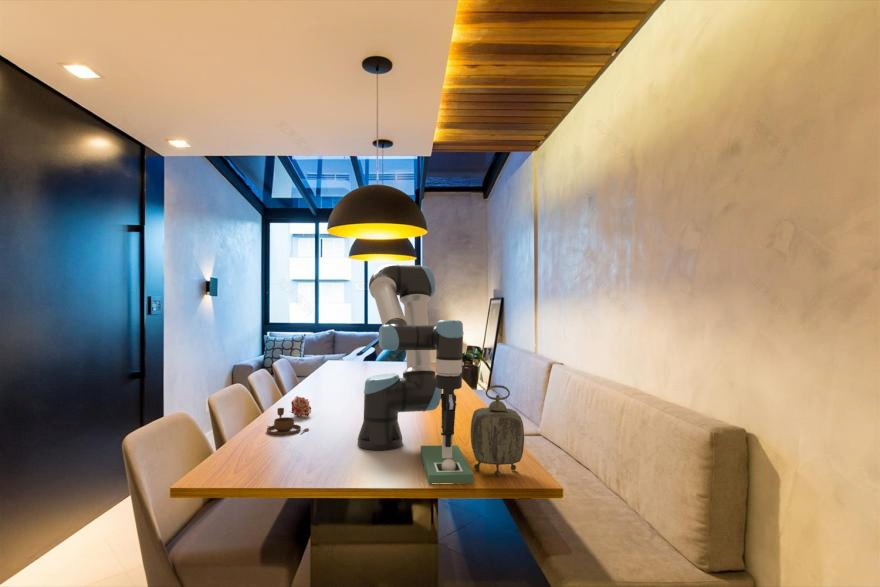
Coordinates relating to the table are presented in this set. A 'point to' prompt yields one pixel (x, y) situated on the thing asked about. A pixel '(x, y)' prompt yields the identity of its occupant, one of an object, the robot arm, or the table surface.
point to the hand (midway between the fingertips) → (446, 457)
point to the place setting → (284, 425)
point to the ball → (448, 465)
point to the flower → (300, 407)
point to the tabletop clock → (497, 434)
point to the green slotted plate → (434, 466)
